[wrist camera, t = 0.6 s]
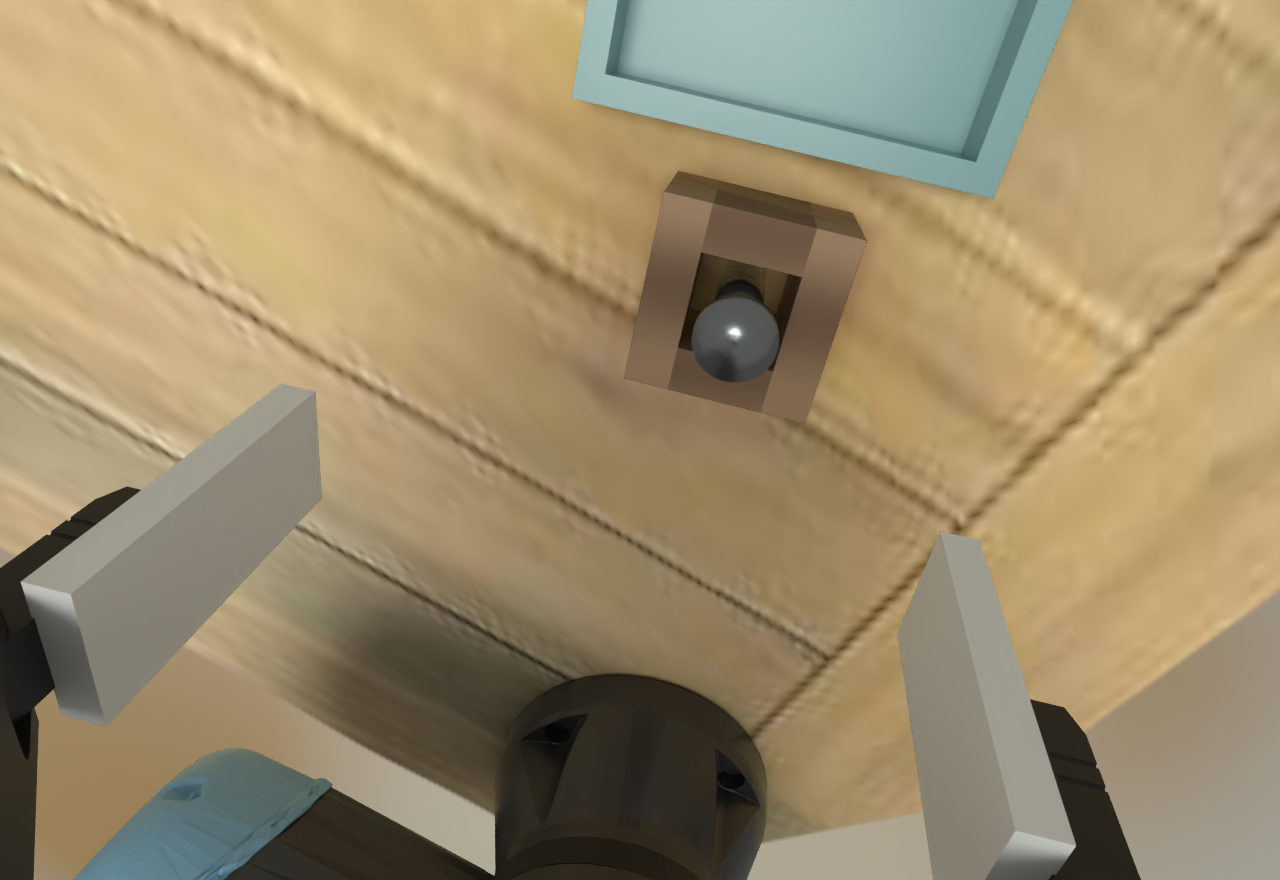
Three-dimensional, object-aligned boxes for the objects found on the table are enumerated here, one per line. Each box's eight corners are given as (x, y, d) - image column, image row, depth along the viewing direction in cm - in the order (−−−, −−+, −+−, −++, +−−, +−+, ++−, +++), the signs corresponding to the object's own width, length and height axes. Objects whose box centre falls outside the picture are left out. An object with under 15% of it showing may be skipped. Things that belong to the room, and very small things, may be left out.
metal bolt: (765, 317, 34) (765, 391, 27) (700, 301, 34) (682, 370, 27) (784, 252, 33) (789, 311, 26) (717, 236, 33) (702, 290, 26)
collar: (800, 375, 35) (804, 423, 30) (642, 336, 35) (623, 378, 31) (852, 213, 32) (866, 240, 27) (678, 171, 32) (663, 191, 27)
